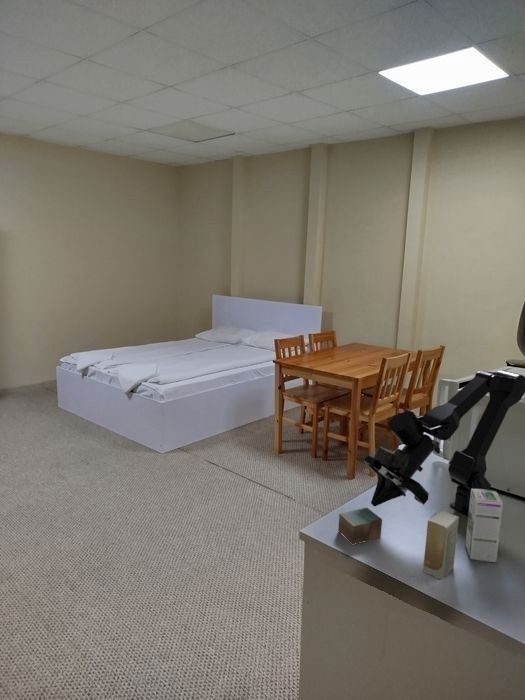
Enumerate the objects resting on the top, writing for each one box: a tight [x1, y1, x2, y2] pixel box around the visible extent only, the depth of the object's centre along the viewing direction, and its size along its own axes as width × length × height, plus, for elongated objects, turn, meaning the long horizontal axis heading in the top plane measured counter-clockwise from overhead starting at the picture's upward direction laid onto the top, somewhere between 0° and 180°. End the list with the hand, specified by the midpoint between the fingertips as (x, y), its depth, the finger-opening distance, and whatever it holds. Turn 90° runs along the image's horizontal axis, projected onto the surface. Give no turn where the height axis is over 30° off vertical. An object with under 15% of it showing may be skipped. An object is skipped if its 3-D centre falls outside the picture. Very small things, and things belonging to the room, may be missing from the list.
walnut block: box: [337, 507, 383, 545], centre depth 117 cm, size 5×6×8 cm
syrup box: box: [465, 489, 504, 563], centre depth 110 cm, size 6×6×14 cm
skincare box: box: [422, 509, 460, 581], centre depth 104 cm, size 6×4×12 cm
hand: (372, 504), depth 117 cm, fingers closed
